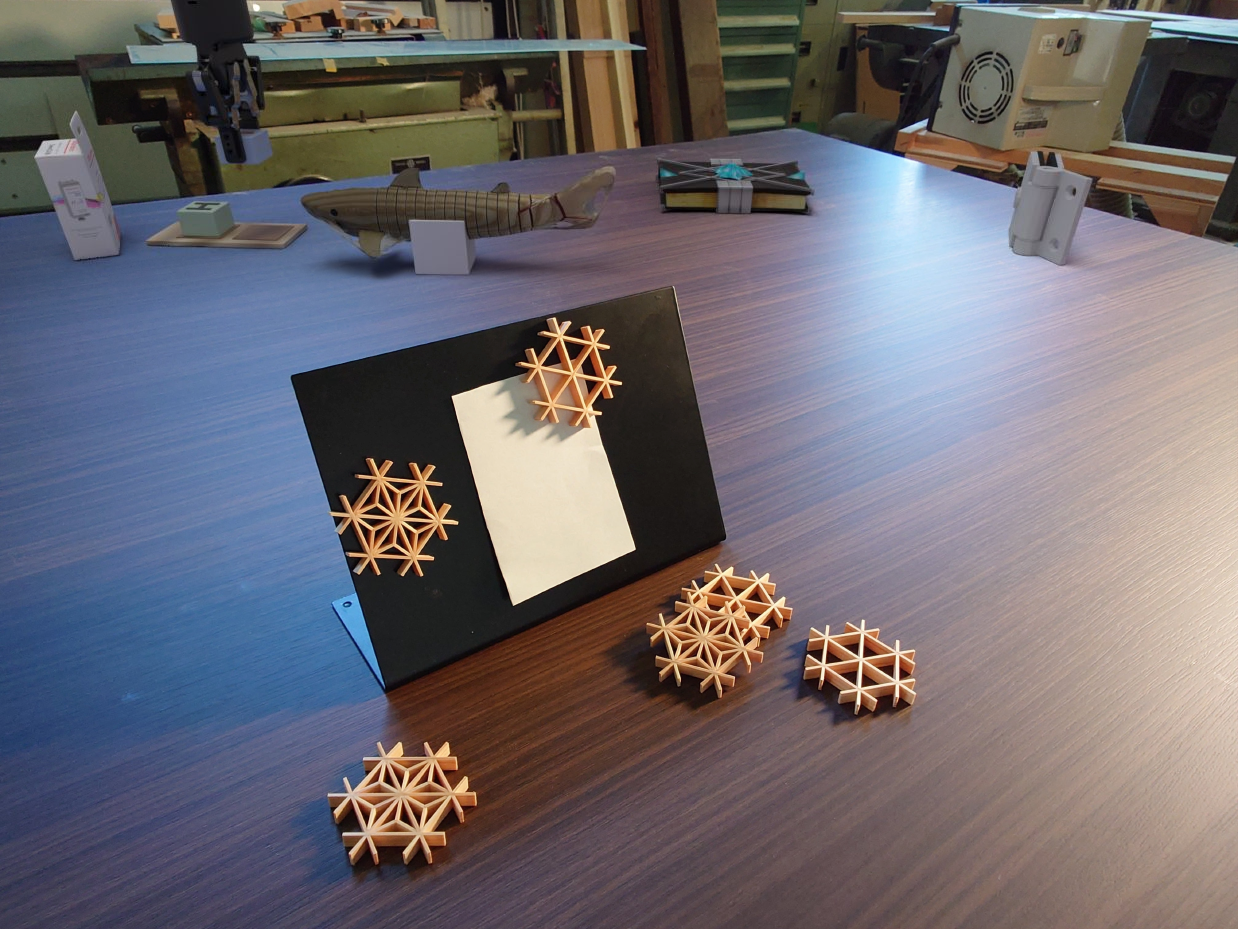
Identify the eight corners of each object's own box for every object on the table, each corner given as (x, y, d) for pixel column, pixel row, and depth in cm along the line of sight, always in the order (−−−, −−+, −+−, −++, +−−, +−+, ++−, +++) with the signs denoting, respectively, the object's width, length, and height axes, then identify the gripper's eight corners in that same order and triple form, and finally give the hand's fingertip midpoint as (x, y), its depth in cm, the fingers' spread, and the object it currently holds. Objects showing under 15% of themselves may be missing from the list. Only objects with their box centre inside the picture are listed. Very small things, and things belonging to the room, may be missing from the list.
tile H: (183, 235, 100) (175, 210, 98) (200, 224, 103) (193, 200, 102) (219, 236, 99) (212, 211, 98) (235, 225, 103) (228, 200, 101)
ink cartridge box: (77, 239, 100) (30, 112, 92) (122, 234, 102) (80, 109, 94) (72, 261, 94) (21, 126, 85) (120, 255, 95) (75, 123, 87)
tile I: (220, 163, 95) (213, 135, 93) (236, 154, 98) (230, 127, 97) (258, 164, 94) (251, 136, 93) (273, 155, 98) (267, 128, 96)
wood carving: (615, 280, 91) (616, 178, 84) (302, 277, 90) (280, 174, 84) (615, 253, 98) (616, 157, 92) (325, 250, 98) (307, 154, 91)
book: (794, 183, 126) (798, 150, 123) (813, 216, 112) (818, 178, 109) (655, 181, 126) (656, 147, 123) (656, 213, 112) (658, 176, 109)
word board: (146, 245, 99) (144, 239, 98) (179, 225, 105) (177, 219, 105) (284, 248, 98) (282, 243, 98) (307, 228, 105) (306, 223, 104)
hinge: (1066, 266, 96) (1094, 179, 91) (1018, 263, 97) (1043, 177, 91) (1034, 229, 108) (1057, 150, 102) (992, 227, 108) (1013, 149, 103)
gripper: (204, -13, 93) (241, 143, 102) (137, -5, 81) (186, 172, 90) (268, -13, 93) (299, 144, 102) (210, -4, 81) (252, 173, 90)
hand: (246, 156), depth 96 cm, fingers closed on tile I, 4 cm apart
